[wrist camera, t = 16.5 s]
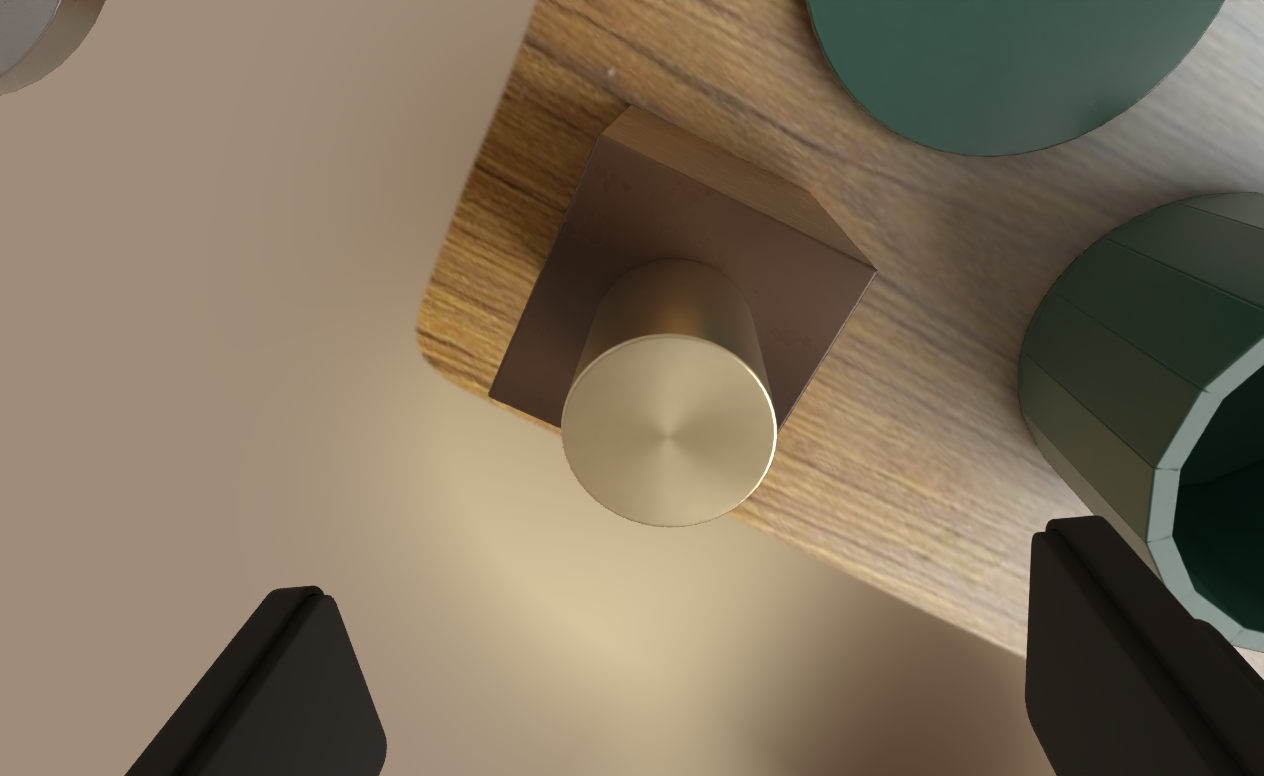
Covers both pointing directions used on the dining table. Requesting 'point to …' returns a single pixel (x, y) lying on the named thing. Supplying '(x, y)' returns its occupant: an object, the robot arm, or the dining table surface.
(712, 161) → the block
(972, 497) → the dining table surface
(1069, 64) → the lid
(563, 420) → the tin
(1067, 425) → the pot
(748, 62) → the dining table surface
